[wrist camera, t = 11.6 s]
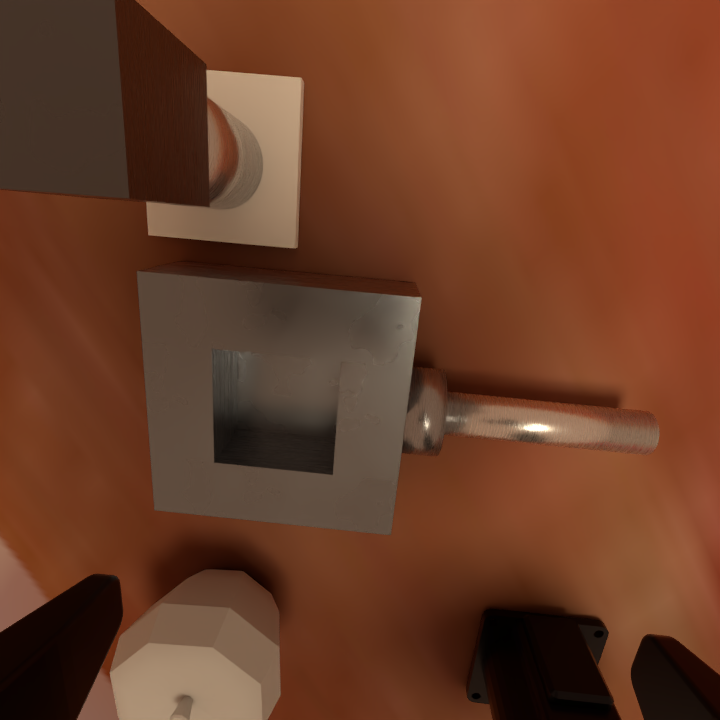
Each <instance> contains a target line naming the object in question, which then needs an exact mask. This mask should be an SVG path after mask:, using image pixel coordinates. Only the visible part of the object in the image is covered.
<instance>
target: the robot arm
mask: <svg viewBox="0 0 720 720" xmlns="http://www.w3.org/2000/svg"><path fill="white" fill-rule="evenodd" d="M122 617H123V605H122V596H121V587H120V581H119V579H118V577H117V576H114V575H105V574H93V575H90V576H88V577H87V578H85V579H84V580H82V581H80V582H79V583H77V584H76V585H74V586H73V587H71V588H69V589H68V590H66V591H65V592H63V593H61V594H60V595H58V596H57V597H55V598H54V599H52V600H50V601H49V602H47V603H46V604H44V605H43V606H41V607H39V608H38V609H36V610H35V611H33V612H32V613H30V614H28V615H27V616H25V617H24V618H22V619H21V620H19V621H17V622H16V623H14V624H13V625H11V626H9V627H8V628H6V629H5V630H3V631H2V632H0V720H77V718H78V716H79V714H80V712H81V709H82V708H83V705H84V703H85V701H86V699H87V697H88V694H89V692H90V690H91V688H92V686H93V684H94V682H95V679H96V677H97V675H98V673H99V671H100V669H101V666H102V664H103V662H104V660H105V658H106V656H107V653H108V651H109V649H110V647H111V645H112V643H113V640H114V638H115V636H116V634H117V632H118V630H119V627H120V625H121V622H122ZM491 619H493V620H491ZM608 633H609V632H608V630H607V628H606V626H605V625H604V623H603V622H602V621H599V620H591V619H582V618H573V617H564V616H554V615H545V614H536V613H527V612H518V611H508V610H499V609H488V610H486V611H485V612H484V613H483V615H482V619H481V624H480V628H479V633H478V637H477V642H476V646H475V651H474V655H473V659H472V664H471V668H470V673H469V677H468V682H467V686H466V692H467V698H468V699H469V700H470V701H472V702H476V703H485V704H489V705H490V709H491V714H492V719H493V720H621V718H620V715H619V713H618V711H617V709H616V707H615V705H614V700H613V697H612V695H611V692H610V690H609V688H608V686H607V684H606V682H605V680H604V678H603V676H602V673H601V671H600V669H599V667H598V663H599V660H600V658H601V655H602V652H603V649H604V646H605V643H606V640H607V637H608ZM631 680H632V685H633V688H634V691H635V694H636V697H637V700H638V703H639V706H640V709H641V712H642V715H643V718H644V720H720V675H719V674H718V673H716V672H715V671H714V670H713V669H712V668H710V667H709V666H708V665H707V664H705V663H704V662H703V661H702V660H701V659H699V658H698V657H697V656H696V655H695V654H693V653H692V652H691V651H690V650H688V649H687V648H686V647H685V646H684V645H682V644H681V643H680V642H679V641H677V640H676V639H674V638H672V637H669V636H663V635H654V634H647V635H646V636H644V637H643V639H642V641H641V643H640V646H639V649H638V651H637V654H636V656H635V659H634V662H633V664H632V667H631Z"/></svg>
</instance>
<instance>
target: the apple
mask: <svg viewBox="0 0 720 720" xmlns="http://www.w3.org/2000/svg"><path fill="white" fill-rule="evenodd" d="M110 677H111V682H112V687H113V692H114V697H115V702H116V707H117V712H118V717H119V719H120V720H268V718H269V716H270V714H271V712H272V710H273V708H274V707H275V705H276V703H277V701H278V699H279V697H280V695H281V693H280V640H279V610H278V608H277V606H276V603H275V601H274V599H273V596H272V594H271V593H270V592H268V591H267V590H266V589H265V588H263V587H262V586H261V585H260V584H259V583H257V582H256V581H255V580H254V579H252V578H251V577H250V576H249V575H247V574H246V573H245V572H244V571H236V570H218V569H205V570H203V571H201V572H199V573H197V574H195V575H193V576H191V577H189V578H187V579H186V580H184V581H183V582H182V583H181V584H179V585H178V586H177V587H175V588H174V589H173V590H172V591H170V592H169V593H168V594H166V595H165V596H164V597H163V598H161V599H160V600H159V601H157V602H156V603H155V604H154V605H152V606H151V607H150V608H149V609H148V610H147V611H146V612H145V613H144V614H143V615H142V616H141V617H140V618H139V619H138V620H137V621H136V622H135V623H133V624H132V625H131V626H130V627H129V628H128V629H127V630H126V631H125V632H124V633H123V634H122V635H121V636H120V638H119V641H118V645H117V649H116V652H115V656H114V659H113V663H112V667H111V670H110Z"/></svg>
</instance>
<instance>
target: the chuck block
mask: <svg viewBox="0 0 720 720" xmlns="http://www.w3.org/2000/svg"><path fill="white" fill-rule="evenodd" d="M137 283H138V296H139V310H140V323H141V336H142V350H143V363H144V377H145V390H146V403H147V417H148V430H149V444H150V457H151V470H152V484H153V497H154V510H158V511H167V512H177V513H186V514H195V515H205V516H214V517H224V518H233V519H243V520H252V521H262V522H271V523H281V524H290V525H300V526H309V527H319V528H328V529H337V530H347V531H356V532H366V533H375V534H385V535H391V530H392V522H393V514H394V507H395V499H396V491H397V483H398V476H399V468H400V460H401V453H407V454H417V455H427V456H438V454H439V452H440V450H441V447H442V443H443V438H444V435H450V436H460V437H470V438H480V439H490V440H500V441H510V442H520V443H530V444H540V445H550V446H560V447H570V448H580V449H590V450H600V451H610V452H620V453H630V454H640V455H649V454H651V453H652V452H653V451H654V450H655V448H656V447H657V444H658V441H659V426H658V422H657V420H656V418H655V416H654V415H653V414H652V413H650V412H648V411H641V410H631V409H620V408H610V407H600V406H590V405H580V404H569V403H559V402H549V401H539V400H529V399H518V398H508V397H498V396H488V395H478V394H467V393H457V392H447V378H446V373H445V371H444V370H443V369H433V368H422V367H413V360H414V352H415V344H416V337H417V329H418V321H419V314H420V306H421V295H420V293H419V291H418V289H417V286H416V284H415V283H413V282H402V281H391V280H381V279H370V278H359V277H348V276H337V275H327V274H316V273H305V272H294V271H283V270H273V269H262V268H251V267H240V266H229V265H219V264H208V263H197V262H186V261H178V262H174V263H169V264H165V265H161V266H156V267H152V268H148V269H143V270H139V271H137Z"/></svg>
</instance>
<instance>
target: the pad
mask: <svg viewBox="0 0 720 720" xmlns="http://www.w3.org/2000/svg"><path fill="white" fill-rule="evenodd" d="M206 71H207V97H208V98H209V99H211V100H212V101H214V102H215V103H216V104H218V105H219V106H220V107H222V108H223V109H225V110H226V111H227V112H229V113H230V114H232V115H233V116H234V117H236V118H237V119H238V120H240V121H241V122H242V123H244V124H245V125H246V126H247V127H248V128H249V129H250V130H251V132H252V133H253V134H254V136H255V138H256V139H257V141H258V143H259V146H260V149H261V152H262V157H263V173H262V178H261V181H260V184H259V186H258V188H257V190H256V192H255V193H254V194H253V196H252V197H251V198H250V199H249V200H248V201H246V202H245V203H243V204H242V205H240V206H238V207H235V208H231V209H212V208H201V207H191V206H181V205H171V204H160V203H150V202H146V206H147V222H148V235H152V236H163V237H174V238H185V239H196V240H207V241H218V242H229V243H240V244H250V245H261V246H272V247H283V248H294V249H295V248H298V229H299V204H300V178H301V152H302V127H303V101H304V81H303V80H302V78H298V77H286V76H274V75H262V74H250V73H237V72H225V71H213V70H206Z"/></svg>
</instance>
